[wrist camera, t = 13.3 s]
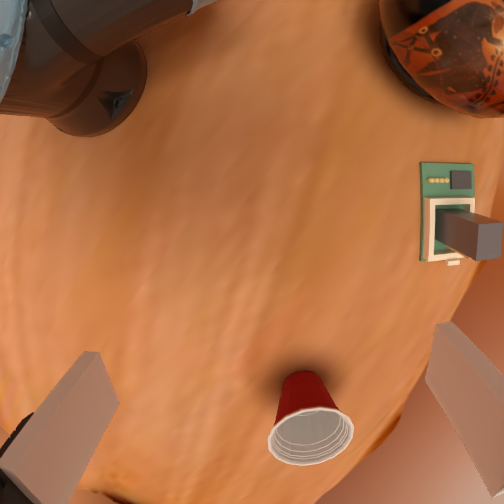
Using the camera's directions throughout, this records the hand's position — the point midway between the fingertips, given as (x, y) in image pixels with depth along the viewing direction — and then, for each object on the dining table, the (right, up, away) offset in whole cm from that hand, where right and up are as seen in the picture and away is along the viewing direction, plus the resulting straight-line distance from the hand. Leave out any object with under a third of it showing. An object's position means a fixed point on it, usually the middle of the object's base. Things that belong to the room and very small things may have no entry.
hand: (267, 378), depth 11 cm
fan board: (+26, +10, +26) cm, 38 cm away
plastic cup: (+7, -15, +34) cm, 38 cm away
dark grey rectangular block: (+25, +8, +26) cm, 37 cm away
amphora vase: (+23, +32, +20) cm, 44 cm away
